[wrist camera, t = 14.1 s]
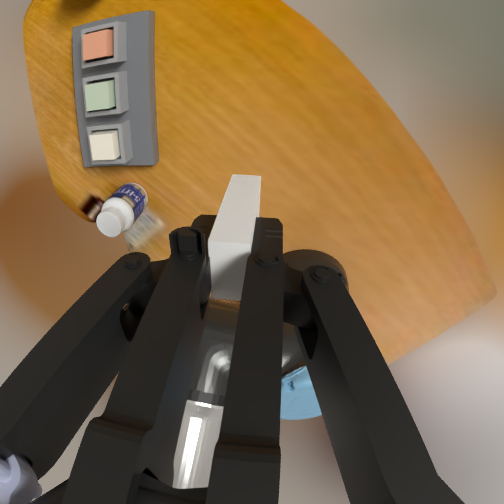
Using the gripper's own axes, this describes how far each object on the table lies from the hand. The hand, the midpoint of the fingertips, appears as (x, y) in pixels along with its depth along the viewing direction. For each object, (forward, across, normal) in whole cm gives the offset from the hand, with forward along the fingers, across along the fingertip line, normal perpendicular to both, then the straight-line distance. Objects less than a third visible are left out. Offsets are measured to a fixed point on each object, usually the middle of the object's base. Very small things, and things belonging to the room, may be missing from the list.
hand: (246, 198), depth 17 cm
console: (+26, +21, -4) cm, 34 cm away
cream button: (+24, +21, +3) cm, 32 cm away
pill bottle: (+27, +20, +13) cm, 36 cm away
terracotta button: (+24, +21, -11) cm, 34 cm away
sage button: (+24, +21, -4) cm, 32 cm away
